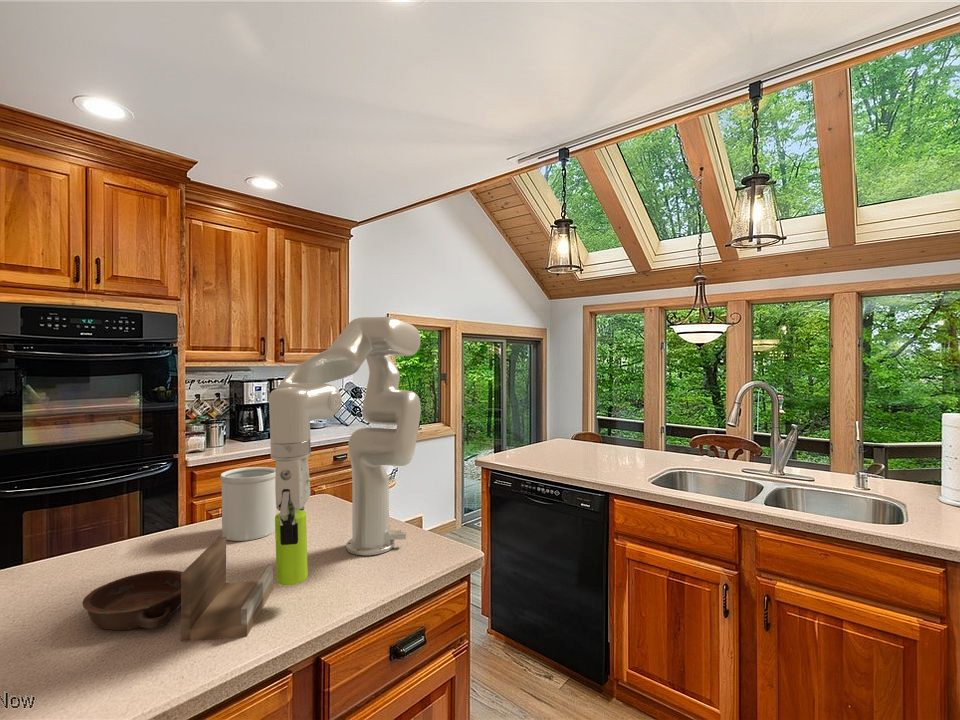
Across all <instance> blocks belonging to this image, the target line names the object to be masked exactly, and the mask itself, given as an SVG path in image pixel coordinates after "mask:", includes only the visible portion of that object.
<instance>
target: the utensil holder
mask: <svg viewBox="0 0 960 720" xmlns="http://www.w3.org/2000/svg"><path fill="white" fill-rule="evenodd" d="M275 470H276V467H270V466H269V467H268V466H249V467H239V468H234V469H229V470H226V471H224V472H222V473H221V474H220V481H221V530H222V531H221V532H222V534H221V535H222V537H226V541H233V542H244V541H251V540H252V541H253V540H257V539H261V538H265V537H267V536H270V535H272V533H275V516H276V515H277V508H276V496H275V474H276V472H275Z"/></svg>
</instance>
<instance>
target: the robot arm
mask: <svg viewBox="0 0 960 720" xmlns="http://www.w3.org/2000/svg"><path fill="white" fill-rule="evenodd" d="M421 341H422V340H421V335H420V332H419V331H418V329H417V327H415V326H414V325H412V324H411V323H408V322H405V321H402V320H401V319H398V318H394V317H390V316H370V317H369V316H367V317H366V316H365V317H364V316H363V317H357V318H354V319H353V320H351V321H350V322H349V323H348V324H347V325H346V327H345V328H344V329H343V330H342V332H341V333H340V334H339V335H338V336H337V338H336V339H335V340H334V342H333V343H332V344H331V345H330V346H329V347H328V348H327V349H326V350H324V351H322V352H319V353H318V354H317V353H316V354H315V355H314V356H312V357H310V358H308V359H306V360H304V361H302V362H300V363H299V364H297V365H296V366H294V367H293V368H292V369H291V370H290V372H288V373H287V374H286V376H285V377H284V378H283V379H282V380H281V382H280V383H279V384H278V385H277V388H275V389H272V390H271V392H270V394H269V396H268V401H269V402H268V403H269V405H268V406H269V434H270V435H269V436H270V437H269V438H270V440H269V441H270V442H269V443H270V459H271V460H273V461H275V469H276V470H275V472H276V474H275V496H276V510H278V511H279V513H280V540H281V545H291V544H297V543H298V523H296V513H297V508H299V510H301V511H304V512H306V511H305V505H306V504H307V502H308V501H309V498H310V496H311V479H310V469H309V467H310V466H309V459H308V458H309V457H310V456H311V455H312V448H311V446H312V445H311V420H326V419H329V418H332V417H334V416H335V415H336V414H337V413H338V412H339V410H340V409H341V407H342V401H343V400H342V393H341V392H340V390H339V389H338V388H336V387H335V386H334V385H332V384H328V383H330V382H335V381H339V380H342V379H345V378H347V377H350V376H353V375H354V374H355V373H357V372H358V371H359V369H360V368H361V366H362V365H363V363H364V362H365V360H366V363H367V366H368V372H369V375H368V381H367V385H366V390H365V394H364V399H363V405H362V409H361V410H362V412H361V413H362V418H363V420H364V421H365V422H367V423H370V424H372V425H373V424H375V425H388V426H396V428H384V427H363V428H362V427H361V428H359V429H356V430H354V432H352V434H350V437H349V439H348V444H347V446H348V448H347V449H348V455H349V460H350V466H351V478H352V480H351V481H352V483H351V484H352V494H351V495H352V496H351V497H352V510H351V511H352V516H351V517H352V518H351V519H352V521H351V522H352V524H351V526H352V529H351V531H352V532H351V535H352V536H351V537H352V538H350V539H349V540H348V541H347V542H346V544H345V549H346V551H347V552H349V553H350V554H353V555H355V556H356V555H357V556H376V555H381V554H383V553H384V554H385V553H386V552H389V551H390V550H392V549H393V548H395V542H396V541H397V540H399V541H400V540H401V541H403V540H407V539H406V538H407V532H406V531H402V529H397V530H393V529H391V524H390V480H389V479H390V478H389V476H388V473H387V470H386V469H385V467H384V466H388V467H390V466H392V467H405V466H407V465H409V464H410V463H411V461H412V459H413V458H414V454H415V450H416V445H417V440H418V439H417V438H418V432H419V426H420V420H421V413H422V412H421V411H422V408H421V407H422V405H421V400H420V397H419V395H418V394H417V393H416V392H415V391H411V390H408V389H407V390H406V389H399V387H400V386H399V385H400V379H401V375H400V372H399V369H398V367H397V365H396V364H395V363H394V361H393V360H392V359H391V357H410V356H411V357H412V356H414V355H415V354H417V352H418V351H419V350H420V347H421ZM307 480H310V481H309V482H307ZM289 505H294V508H289ZM290 511H293V514H292V515H291V514H289V512H290ZM395 540H396V541H395Z"/></svg>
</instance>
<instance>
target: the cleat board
mask: <svg viewBox="0 0 960 720" xmlns="http://www.w3.org/2000/svg"><path fill="white" fill-rule="evenodd" d="M182 572H183V573H182V574H181V604H180V642H190V641H203V640H212V639H213V640H215V639H226V638H238V637H239V638H240V637H241V638H242V637H247V636H248V635H249V634H250V631H251V630H252V627H253V626H254V624H255V622H256V620H257V619H258V617H259V615H260V613H261V611H262V610H263V607H264V606H265V604H266V602H267V600H268V598H269V597H270V595H271V593H272V591H273V590H274V566H272V565H271V566H267V567H266V569H265V571H264V573H263V574H262V576H261V577H260V579H259V580H255V581H254V580H253V581H240V582H239V581H237V582H227V539H226V537H223V536H218V537H217V538H216V539H215V540H214V541H213V542H212V543H211V544H210V545H209V546H208V547H207V548H206V549H205V550H204V551H203V552H202V553H201V554H200V555H199V556H198V557H197V558H195V560H194V561H192V563H191V564H189V566H188V567H187V568H186V569H185V570H184V571H182Z"/></svg>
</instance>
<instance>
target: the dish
mask: <svg viewBox="0 0 960 720" xmlns="http://www.w3.org/2000/svg"><path fill="white" fill-rule="evenodd" d="M183 572H184V571H182V570H181V571H180V570H173V569H165V570H164V569H163V570H161V569H160V570H151V571H146V572H141V573H136V574H132V575H129V576H125V577H120V578H119V579H116V580H113V581H111V582H108V583H106V584H103V585H101V586H99V587H96V588H94V589H93V590H92V591H90V592H89V593H88V594H87V595H86V596H85V597H84V598H83V600H82V602H81V603H82V607H83V608H84V610H86V611H87V613H88V616H89V619H90V621H91V623H93V624H94V625H95V626H96V627H97V628H99V629H100V628H101V629H104V630H105V629H106V630H112V631H123V630H133V629H139V628H145V629H156V628H157V629H158V628H160V627H162V626H163V625H165V624H167V622H168V621H170V619H171V615H172V613H174V612H176V610H177V609H178V608H179V607H181V574H182V573H183Z"/></svg>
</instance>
